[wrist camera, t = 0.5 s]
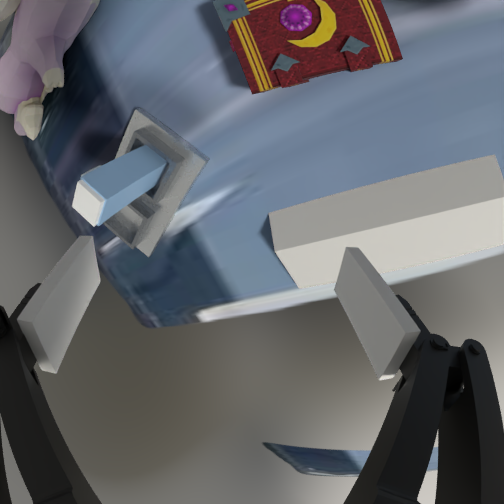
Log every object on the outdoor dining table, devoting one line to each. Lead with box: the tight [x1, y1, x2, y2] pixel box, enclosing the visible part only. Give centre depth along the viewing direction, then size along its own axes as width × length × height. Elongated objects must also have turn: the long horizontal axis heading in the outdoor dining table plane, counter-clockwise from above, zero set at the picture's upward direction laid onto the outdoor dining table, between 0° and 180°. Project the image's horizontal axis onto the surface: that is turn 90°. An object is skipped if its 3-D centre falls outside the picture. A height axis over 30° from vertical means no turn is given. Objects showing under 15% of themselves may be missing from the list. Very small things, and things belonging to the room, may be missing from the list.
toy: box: [0, 0, 100, 140], centre depth 22 cm, size 29×17×30 cm
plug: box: [72, 145, 169, 226], centre depth 31 cm, size 4×5×13 cm
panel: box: [103, 108, 210, 257], centre depth 39 cm, size 20×12×3 cm, turn 145°
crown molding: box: [269, 155, 504, 289], centre depth 31 cm, size 29×12×4 cm, turn 116°
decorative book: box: [213, 0, 403, 94], centre depth 22 cm, size 11×16×5 cm
